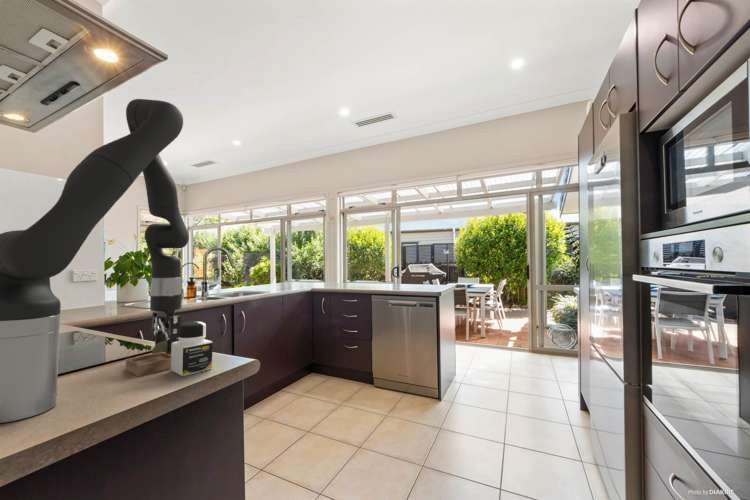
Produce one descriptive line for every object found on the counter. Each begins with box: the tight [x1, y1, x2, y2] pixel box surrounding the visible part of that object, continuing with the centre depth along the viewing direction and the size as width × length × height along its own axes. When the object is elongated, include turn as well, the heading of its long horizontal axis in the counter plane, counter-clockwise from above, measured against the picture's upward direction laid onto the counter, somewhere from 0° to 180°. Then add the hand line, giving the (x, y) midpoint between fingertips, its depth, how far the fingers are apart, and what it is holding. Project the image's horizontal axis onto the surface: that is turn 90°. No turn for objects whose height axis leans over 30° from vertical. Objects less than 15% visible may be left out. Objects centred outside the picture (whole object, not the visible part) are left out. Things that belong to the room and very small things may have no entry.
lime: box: [151, 340, 171, 355], centre depth 91 cm, size 4×5×5 cm
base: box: [125, 352, 171, 378], centre depth 83 cm, size 8×8×3 cm
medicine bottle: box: [170, 321, 214, 377], centre depth 82 cm, size 7×7×12 cm
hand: (165, 350), depth 91 cm, fingers open, 8 cm apart
